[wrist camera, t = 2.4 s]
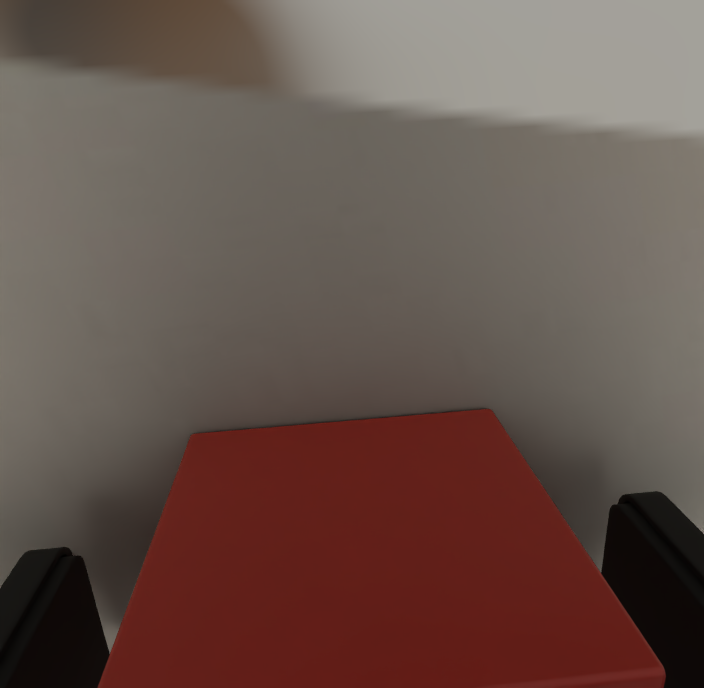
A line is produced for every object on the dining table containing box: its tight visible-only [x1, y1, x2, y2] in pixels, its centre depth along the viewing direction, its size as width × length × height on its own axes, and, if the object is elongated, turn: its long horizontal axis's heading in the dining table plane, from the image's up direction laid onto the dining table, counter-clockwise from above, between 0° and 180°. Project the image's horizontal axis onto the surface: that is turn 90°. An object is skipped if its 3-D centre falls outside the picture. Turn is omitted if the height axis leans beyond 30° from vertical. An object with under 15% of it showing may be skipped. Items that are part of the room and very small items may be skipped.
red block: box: [98, 409, 666, 688], centre depth 8 cm, size 5×5×5 cm
